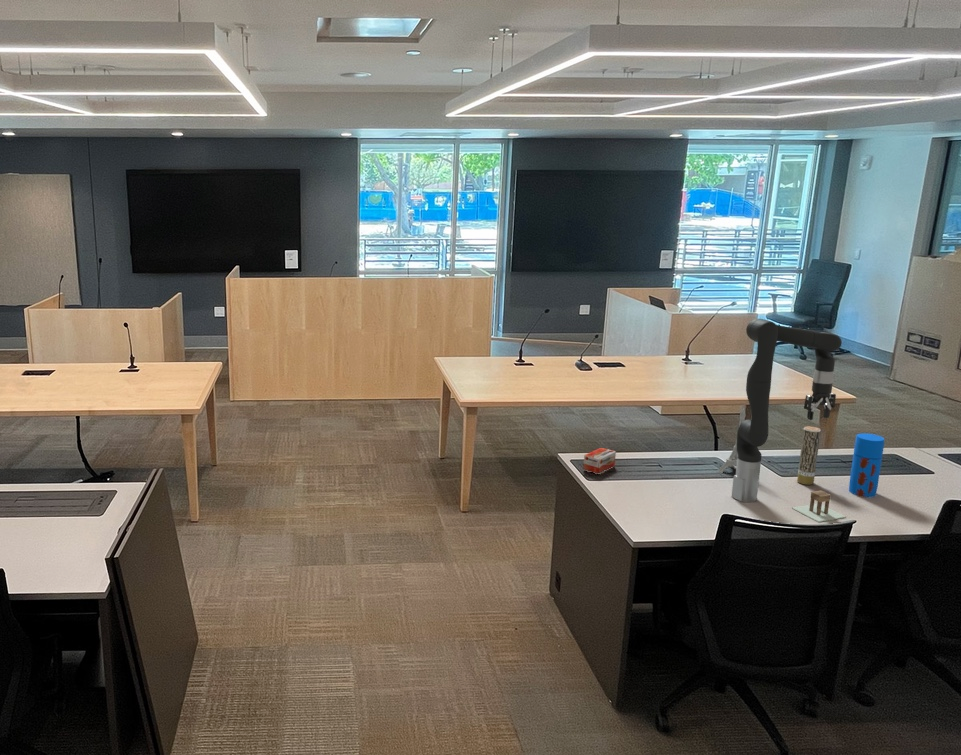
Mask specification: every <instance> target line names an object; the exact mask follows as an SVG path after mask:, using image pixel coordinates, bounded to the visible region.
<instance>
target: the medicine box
mask: <svg viewBox="0 0 961 755" xmlns="http://www.w3.org/2000/svg"><path fill="white" fill-rule="evenodd" d="M616 454H617V451H616V450H611V449H608V448H603V447H599V448H597V449H594V450H593V451H591V452H588V453H586V454H584V457H583V469H585V470H588V471H592V472H595V473H600V472H602V471H604V470H607V469H609V468H611V467H613V466H616Z"/></svg>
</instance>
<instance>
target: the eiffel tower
mask: <svg viewBox="0 0 961 755" xmlns="http://www.w3.org/2000/svg"><path fill="white" fill-rule="evenodd" d="M746 416H747V415H746V412H745V408H742V410H741V412H740V414H739V417H740V420H739V424H738V427H739V426H740V424H741V423H742V422H743V421H745V418H746ZM734 443H735V445H733V449H732V452H731V454H730V456H729V457H728V458H726V459H725V462H724V463H723V464H722V466H720V468H719V469H718V470H717V471H716V473H719V472H720V473H719V474H724V473H725V472H726V471H725V470H726V469H727V468H728V467H729V468H734V467H736V468H737V459H738V453H737V438H736V441H735V442H734ZM723 472H724V473H723Z"/></svg>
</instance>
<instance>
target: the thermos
mask: <svg viewBox="0 0 961 755" xmlns="http://www.w3.org/2000/svg"><path fill="white" fill-rule="evenodd" d="M884 447H885V438H884V437H883V436H881V435H878V434H874V433H868V432H867V433H858V434H856V436H855V442H854V449H853V455H852V462H851V470H850V474H849V475H850V476H849V484H848V491H849V493H850V494H852V495H854V496H857V497H861V498H873V497H876V495H877V491H878V486H879V485H878V484H879V480H880V474H881V473H880V472H881V467H882V460H883V459H882V458H883V453H884Z"/></svg>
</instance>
